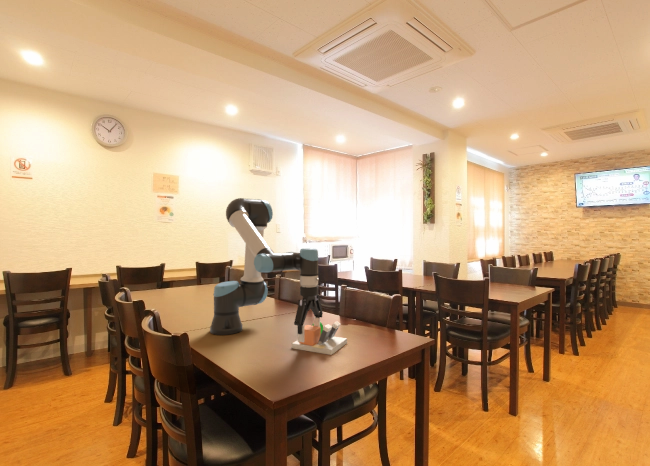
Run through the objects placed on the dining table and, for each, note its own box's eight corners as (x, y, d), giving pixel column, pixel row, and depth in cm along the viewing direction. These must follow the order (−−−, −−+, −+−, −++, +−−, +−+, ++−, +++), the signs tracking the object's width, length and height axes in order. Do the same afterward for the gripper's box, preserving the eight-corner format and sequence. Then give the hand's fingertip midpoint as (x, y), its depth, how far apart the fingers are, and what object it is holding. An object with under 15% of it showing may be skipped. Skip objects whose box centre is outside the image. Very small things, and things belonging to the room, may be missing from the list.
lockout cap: (299, 343, 139) (299, 328, 139) (306, 338, 145) (307, 324, 145) (313, 346, 136) (313, 331, 136) (320, 341, 142) (320, 327, 142)
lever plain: (324, 338, 143) (333, 323, 141) (329, 335, 147) (337, 320, 145) (328, 341, 142) (337, 326, 141) (332, 338, 146) (341, 323, 145)
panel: (291, 348, 139) (291, 343, 139) (310, 337, 154) (310, 332, 154) (330, 355, 131) (330, 349, 131) (347, 343, 146) (347, 337, 146)
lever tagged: (317, 343, 137) (323, 326, 135) (321, 340, 141) (328, 323, 139) (321, 346, 136) (328, 328, 135) (326, 342, 140) (332, 326, 139)
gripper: (302, 290, 128) (302, 347, 128) (330, 282, 150) (330, 330, 150) (285, 289, 131) (285, 344, 131) (315, 281, 154) (315, 328, 154)
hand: (309, 337), depth 141 cm, fingers open, 13 cm apart
